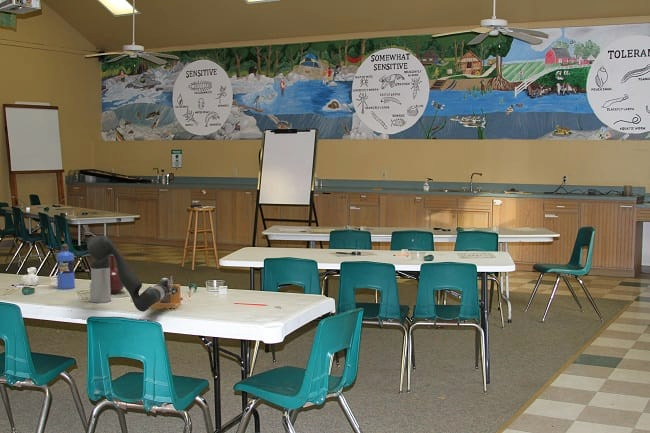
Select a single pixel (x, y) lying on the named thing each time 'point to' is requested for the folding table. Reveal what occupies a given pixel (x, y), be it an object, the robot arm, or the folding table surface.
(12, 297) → the folding table surface
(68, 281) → the water bottle
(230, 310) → the folding table surface
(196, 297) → the folding table surface
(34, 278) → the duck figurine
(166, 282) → the link block
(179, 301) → the keeper bracket
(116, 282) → the round-bottom flask
